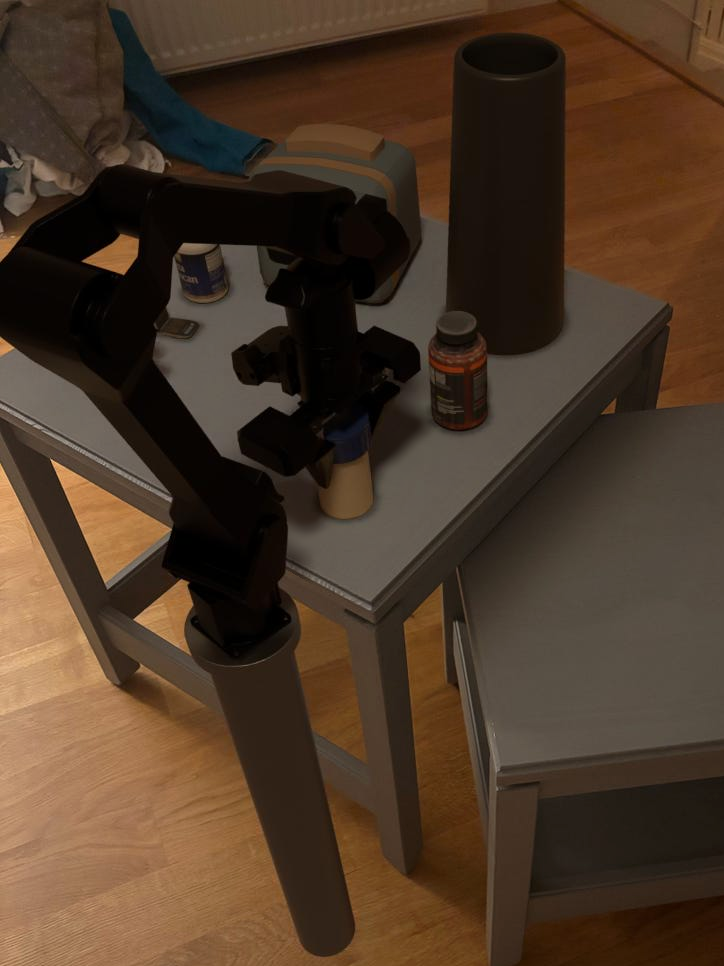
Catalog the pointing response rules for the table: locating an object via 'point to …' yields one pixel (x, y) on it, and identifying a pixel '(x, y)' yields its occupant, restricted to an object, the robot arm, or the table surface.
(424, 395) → the table surface
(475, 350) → the supplement bottle
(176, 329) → the strap clip
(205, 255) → the pill bottle
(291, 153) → the alarm clock
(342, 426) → the jar lid
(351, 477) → the jar
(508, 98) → the vase
